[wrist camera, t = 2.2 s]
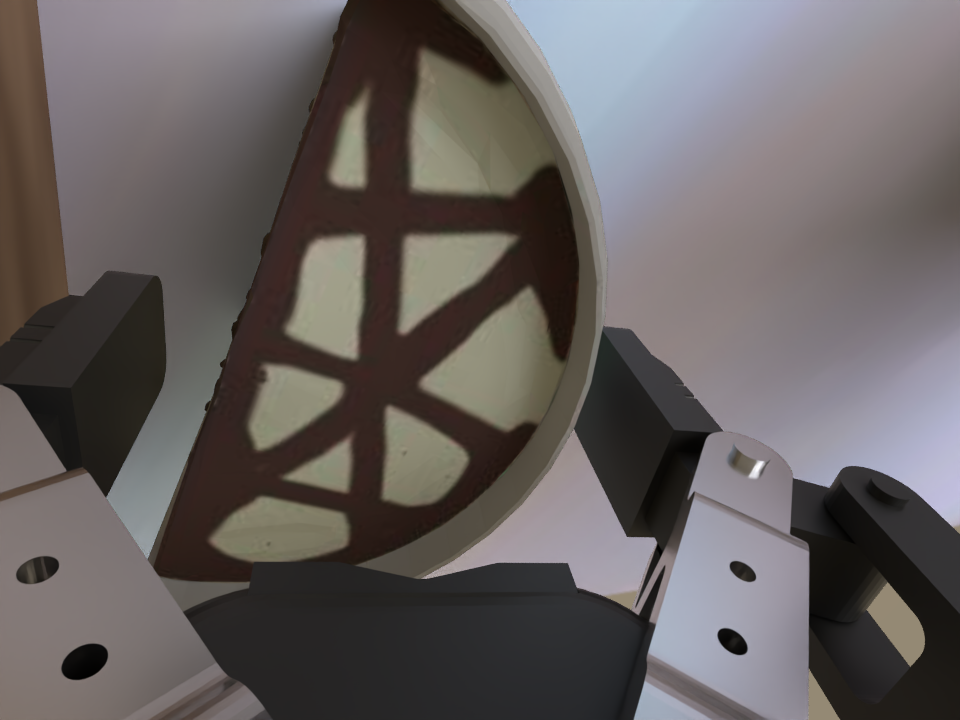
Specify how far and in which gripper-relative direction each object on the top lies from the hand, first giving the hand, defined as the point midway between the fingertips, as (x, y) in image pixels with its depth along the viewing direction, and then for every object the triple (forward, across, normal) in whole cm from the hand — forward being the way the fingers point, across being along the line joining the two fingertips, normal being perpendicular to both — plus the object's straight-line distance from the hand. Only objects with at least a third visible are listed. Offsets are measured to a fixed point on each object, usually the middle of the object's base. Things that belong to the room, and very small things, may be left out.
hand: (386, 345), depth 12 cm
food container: (+8, 0, 0) cm, 8 cm away
